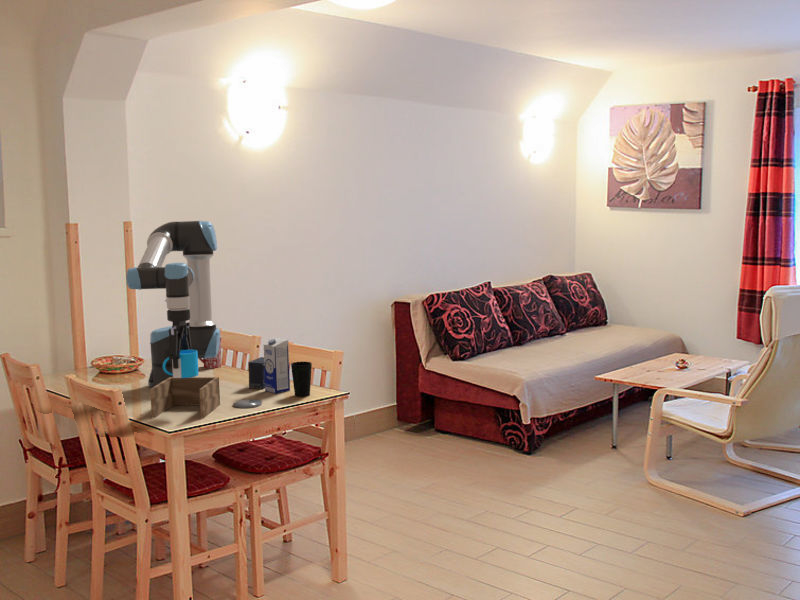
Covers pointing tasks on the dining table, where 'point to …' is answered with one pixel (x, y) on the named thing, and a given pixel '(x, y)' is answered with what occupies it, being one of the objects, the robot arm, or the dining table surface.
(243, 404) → the coaster
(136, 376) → the dining table surface
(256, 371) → the small box
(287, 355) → the milk carton
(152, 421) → the dining table surface
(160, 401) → the crate
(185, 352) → the mug
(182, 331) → the robot arm
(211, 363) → the mug
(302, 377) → the cup
